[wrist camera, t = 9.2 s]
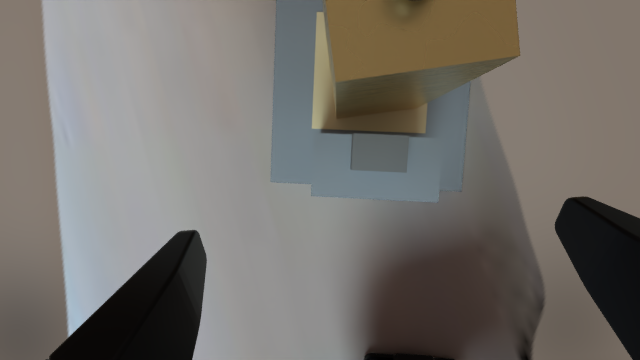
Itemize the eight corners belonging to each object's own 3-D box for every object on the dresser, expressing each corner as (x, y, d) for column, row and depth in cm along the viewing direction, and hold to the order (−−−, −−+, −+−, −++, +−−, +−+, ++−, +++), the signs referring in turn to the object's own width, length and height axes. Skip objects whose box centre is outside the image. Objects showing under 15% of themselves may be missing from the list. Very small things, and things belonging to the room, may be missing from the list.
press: (453, 188, 23) (516, 210, 15) (274, 180, 24) (242, 196, 16) (471, -32, 22) (550, -139, 14) (282, -36, 22) (250, -142, 14)
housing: (417, 107, 21) (557, 36, 8) (336, 119, 22) (335, 68, 8) (408, 24, 21) (539, -205, 7) (325, 36, 21) (306, -162, 8)
